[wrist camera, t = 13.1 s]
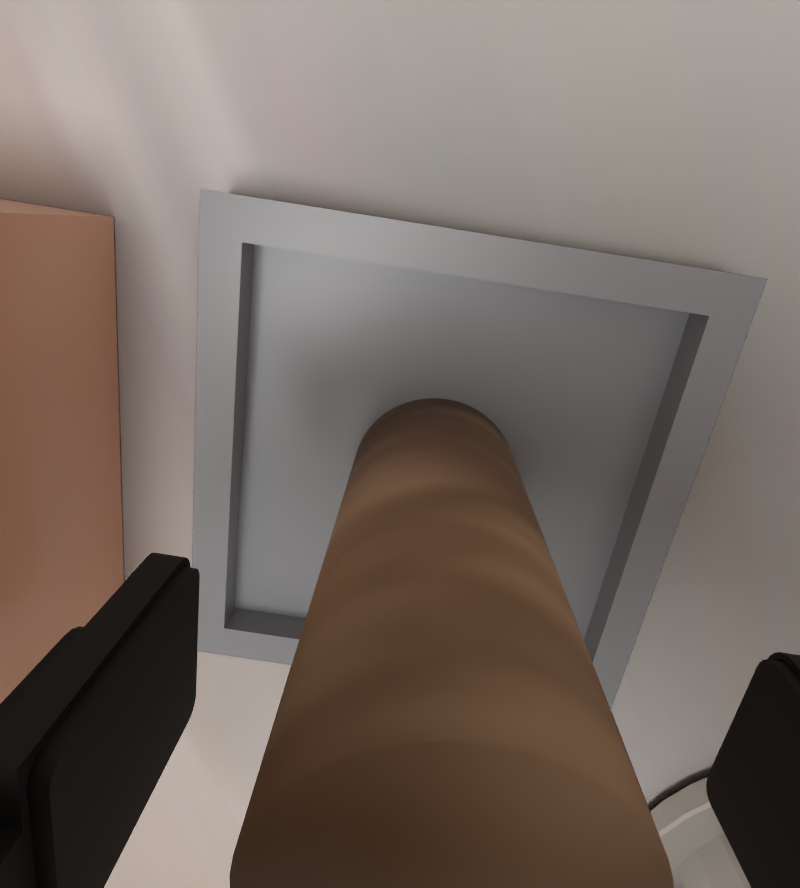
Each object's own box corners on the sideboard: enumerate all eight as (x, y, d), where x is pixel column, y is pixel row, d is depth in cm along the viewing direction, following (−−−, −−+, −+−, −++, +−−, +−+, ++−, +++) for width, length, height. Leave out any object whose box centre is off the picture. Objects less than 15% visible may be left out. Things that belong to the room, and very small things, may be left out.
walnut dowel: (529, 412, 15) (741, 781, 5) (494, 555, 17) (603, 1056, 7) (364, 386, 15) (241, 707, 5) (344, 531, 17) (221, 1002, 7)
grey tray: (724, 272, 15) (767, 278, 13) (591, 665, 19) (609, 711, 18) (228, 193, 15) (199, 188, 13) (212, 609, 19) (190, 650, 17)
